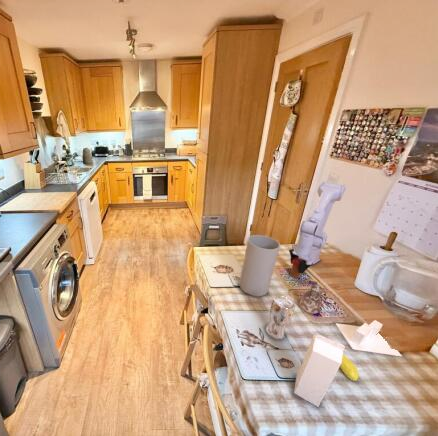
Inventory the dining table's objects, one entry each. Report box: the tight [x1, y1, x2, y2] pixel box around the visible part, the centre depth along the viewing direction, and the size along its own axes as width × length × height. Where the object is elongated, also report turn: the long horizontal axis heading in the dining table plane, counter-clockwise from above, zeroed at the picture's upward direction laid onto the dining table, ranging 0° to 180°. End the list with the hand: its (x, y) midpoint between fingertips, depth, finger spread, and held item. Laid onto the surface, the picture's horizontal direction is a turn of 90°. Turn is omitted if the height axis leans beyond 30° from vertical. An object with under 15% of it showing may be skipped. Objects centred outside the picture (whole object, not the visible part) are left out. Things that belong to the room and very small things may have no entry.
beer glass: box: [265, 295, 296, 340], centre depth 83 cm, size 7×7×15 cm
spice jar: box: [289, 264, 302, 279], centre depth 115 cm, size 4×4×8 cm
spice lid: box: [291, 258, 303, 268], centre depth 113 cm, size 5×5×2 cm
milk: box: [293, 333, 346, 408], centre depth 64 cm, size 6×6×22 cm
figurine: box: [299, 281, 324, 315], centre depth 95 cm, size 7×7×12 cm
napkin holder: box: [335, 319, 403, 357], centre depth 83 cm, size 15×11×6 cm
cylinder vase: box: [238, 234, 281, 297], centre depth 103 cm, size 12×12×25 cm
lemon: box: [339, 354, 359, 382], centre depth 73 cm, size 4×8×4 cm, turn 169°
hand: (296, 268), depth 115 cm, fingers open, 7 cm apart
